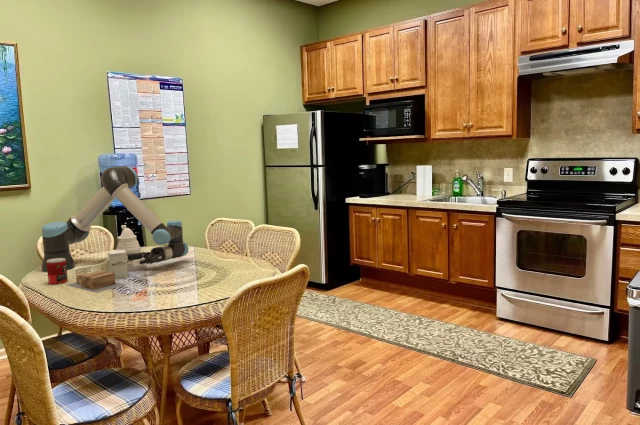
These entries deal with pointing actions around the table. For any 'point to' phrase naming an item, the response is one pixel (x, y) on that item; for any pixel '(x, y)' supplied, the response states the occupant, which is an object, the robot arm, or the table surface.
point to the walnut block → (97, 280)
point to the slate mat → (96, 289)
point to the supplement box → (118, 263)
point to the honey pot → (128, 242)
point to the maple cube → (79, 278)
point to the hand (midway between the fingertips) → (123, 262)
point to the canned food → (57, 271)
